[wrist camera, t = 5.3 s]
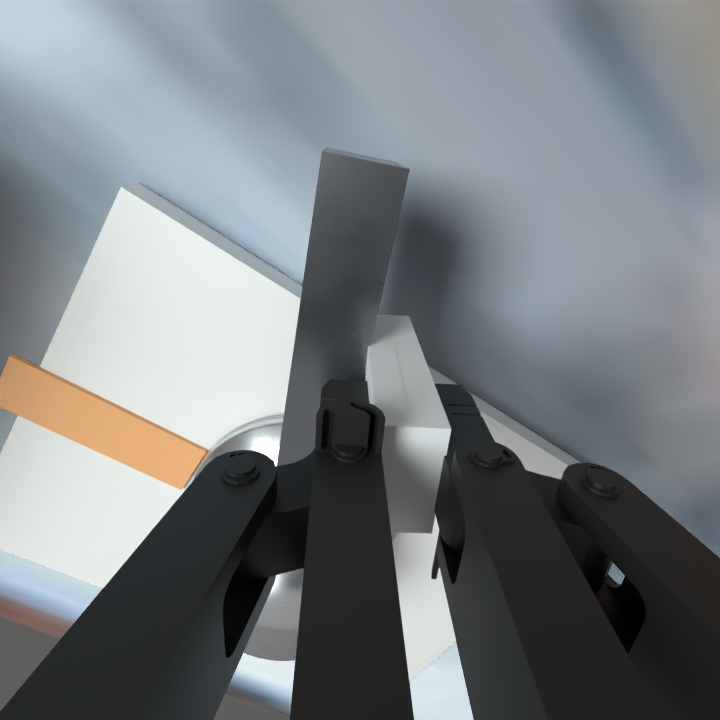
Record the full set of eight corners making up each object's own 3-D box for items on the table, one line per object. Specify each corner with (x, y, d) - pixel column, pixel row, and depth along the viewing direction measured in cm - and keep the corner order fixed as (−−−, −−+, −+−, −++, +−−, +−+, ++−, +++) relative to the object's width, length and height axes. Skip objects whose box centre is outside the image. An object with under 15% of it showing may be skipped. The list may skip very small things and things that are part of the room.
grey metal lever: (377, 582, 23) (384, 682, 19) (189, 562, 22) (153, 663, 18) (494, 181, 15) (553, 199, 11) (213, 122, 14) (159, 116, 10)
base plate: (603, 476, 23) (622, 500, 22) (388, 671, 29) (391, 701, 28) (111, 165, 16) (87, 168, 15) (-37, 502, 22) (-64, 529, 21)
